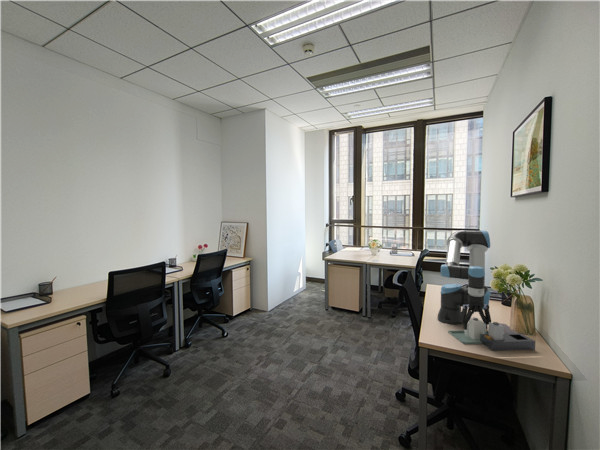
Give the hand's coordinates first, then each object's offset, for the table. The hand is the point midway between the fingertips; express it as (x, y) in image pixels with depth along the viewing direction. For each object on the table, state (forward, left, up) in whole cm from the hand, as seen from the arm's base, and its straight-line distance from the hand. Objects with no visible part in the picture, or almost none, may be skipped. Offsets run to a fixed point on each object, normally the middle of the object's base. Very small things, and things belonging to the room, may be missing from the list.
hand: (475, 334), depth 151 cm
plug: (0, 0, -1) cm, 1 cm away
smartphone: (-11, +26, -3) cm, 28 cm away
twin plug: (+10, +4, 0) cm, 11 cm away
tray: (0, 0, -2) cm, 2 cm away
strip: (+10, +10, -2) cm, 14 cm away
